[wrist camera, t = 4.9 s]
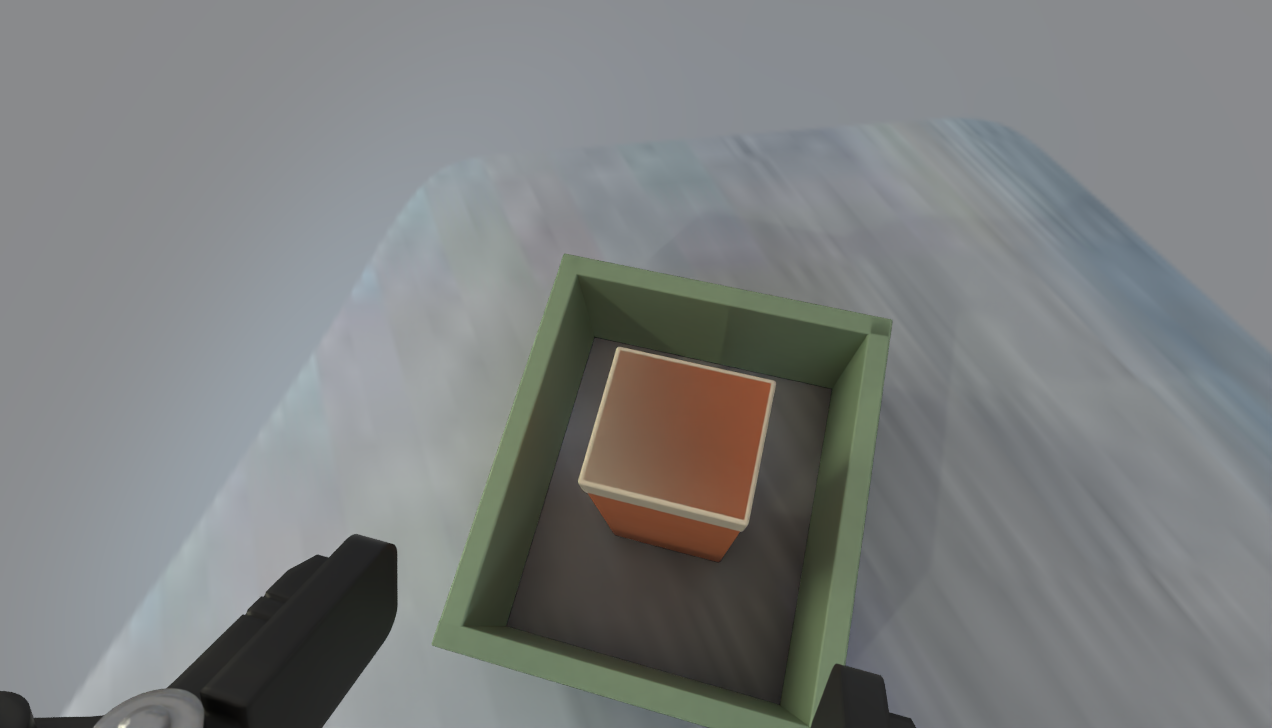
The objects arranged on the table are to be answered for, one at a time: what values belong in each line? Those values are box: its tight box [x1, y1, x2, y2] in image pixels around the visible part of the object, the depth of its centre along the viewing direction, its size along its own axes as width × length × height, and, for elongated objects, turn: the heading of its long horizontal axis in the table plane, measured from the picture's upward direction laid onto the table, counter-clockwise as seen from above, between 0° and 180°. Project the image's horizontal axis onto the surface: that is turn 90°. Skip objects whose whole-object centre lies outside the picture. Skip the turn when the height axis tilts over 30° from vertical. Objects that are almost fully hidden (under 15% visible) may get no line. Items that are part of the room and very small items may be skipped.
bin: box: [432, 254, 892, 728], centre depth 26 cm, size 13×15×6 cm
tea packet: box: [578, 347, 776, 562], centre depth 23 cm, size 5×4×11 cm
